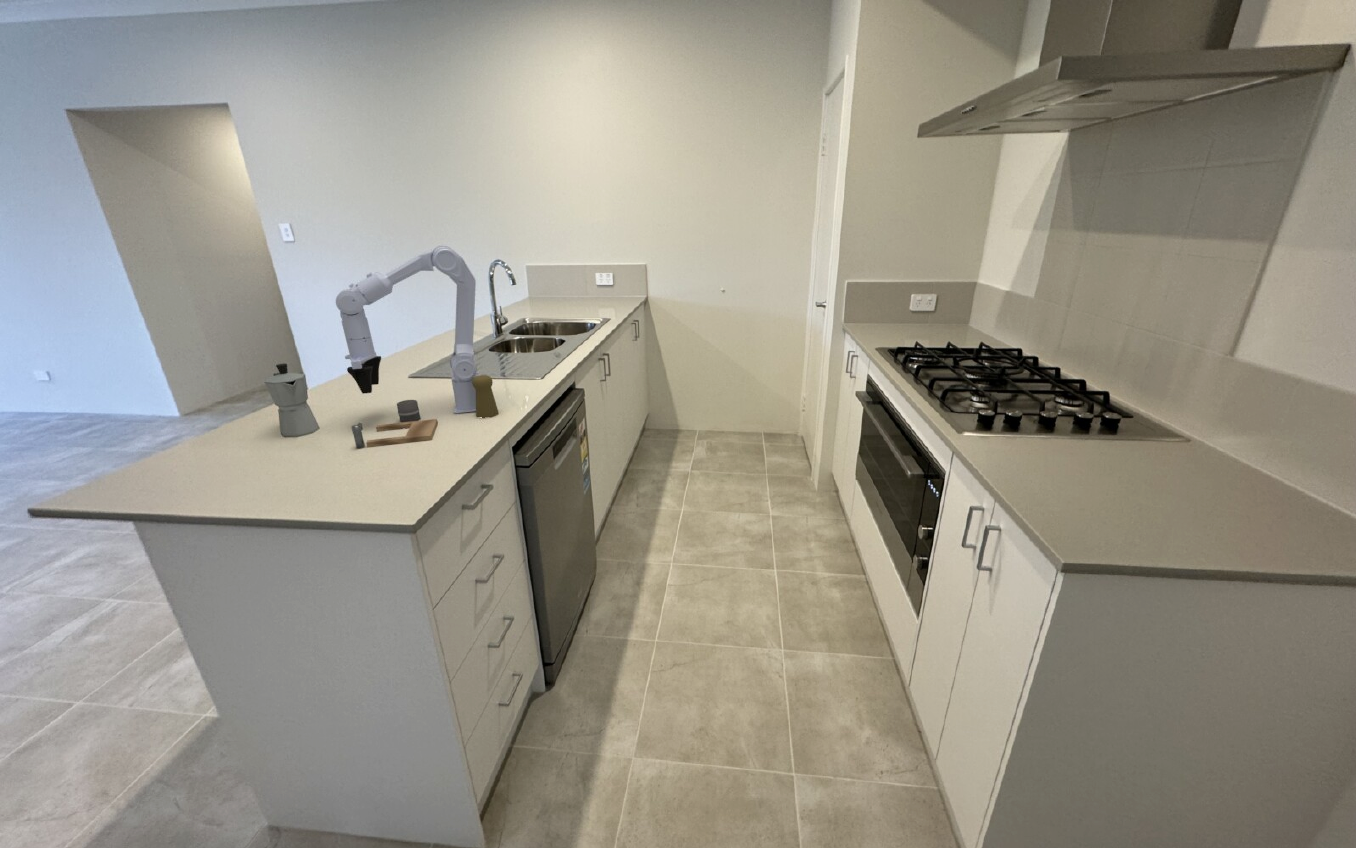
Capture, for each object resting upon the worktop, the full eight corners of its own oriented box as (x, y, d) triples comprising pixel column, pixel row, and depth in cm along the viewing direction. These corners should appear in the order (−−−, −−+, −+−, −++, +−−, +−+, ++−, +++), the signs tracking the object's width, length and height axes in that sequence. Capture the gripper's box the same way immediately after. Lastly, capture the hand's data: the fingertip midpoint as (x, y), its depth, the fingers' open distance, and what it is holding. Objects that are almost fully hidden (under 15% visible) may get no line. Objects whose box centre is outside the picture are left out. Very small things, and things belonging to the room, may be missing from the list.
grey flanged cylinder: (422, 415, 153) (418, 398, 151) (419, 422, 148) (415, 404, 146) (401, 417, 151) (398, 400, 150) (398, 424, 147) (394, 406, 145)
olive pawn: (503, 412, 154) (498, 374, 150) (488, 419, 149) (482, 380, 145) (486, 409, 156) (481, 372, 152) (471, 416, 151) (464, 377, 147)
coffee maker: (327, 432, 142) (309, 364, 136) (287, 442, 136) (266, 372, 130) (309, 419, 152) (291, 355, 145) (272, 428, 146) (251, 361, 139)
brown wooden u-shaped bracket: (437, 423, 147) (437, 418, 147) (431, 439, 136) (430, 435, 136) (378, 429, 143) (377, 425, 143) (367, 447, 133) (366, 442, 132)
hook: (368, 440, 136) (363, 420, 134) (364, 448, 132) (358, 426, 130) (360, 441, 136) (355, 420, 134) (355, 449, 132) (350, 427, 130)
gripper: (349, 333, 146) (361, 382, 151) (332, 345, 133) (346, 398, 138) (378, 331, 147) (389, 379, 152) (364, 342, 134) (376, 395, 139)
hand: (370, 388), depth 145 cm, fingers open, 7 cm apart
